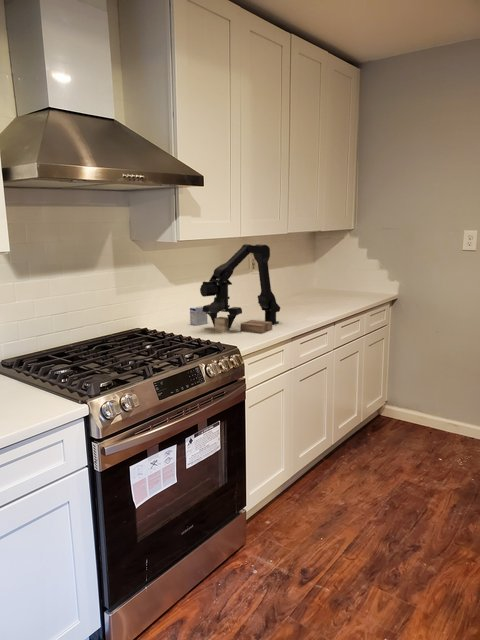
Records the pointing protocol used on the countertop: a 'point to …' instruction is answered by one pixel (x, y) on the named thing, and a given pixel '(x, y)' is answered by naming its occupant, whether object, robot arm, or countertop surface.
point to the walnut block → (256, 326)
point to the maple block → (221, 324)
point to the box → (198, 316)
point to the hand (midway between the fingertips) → (222, 327)
